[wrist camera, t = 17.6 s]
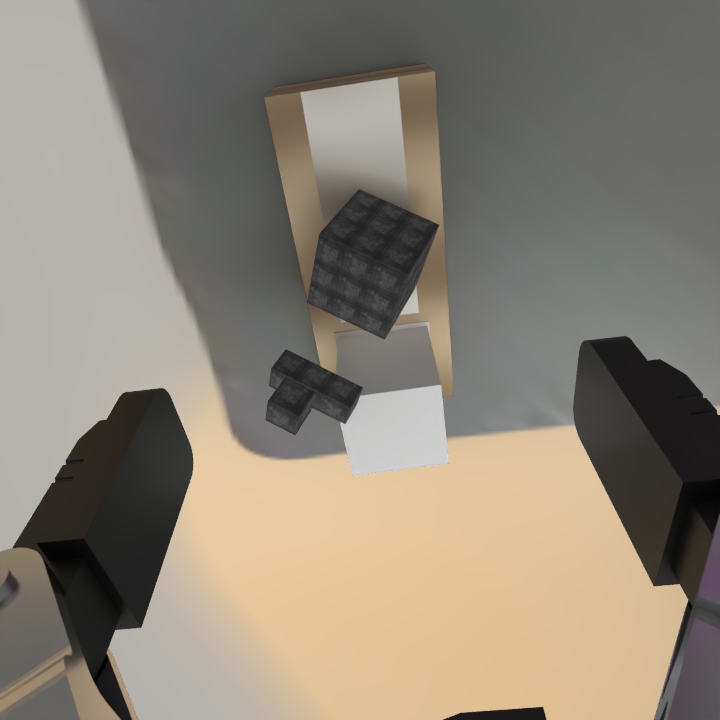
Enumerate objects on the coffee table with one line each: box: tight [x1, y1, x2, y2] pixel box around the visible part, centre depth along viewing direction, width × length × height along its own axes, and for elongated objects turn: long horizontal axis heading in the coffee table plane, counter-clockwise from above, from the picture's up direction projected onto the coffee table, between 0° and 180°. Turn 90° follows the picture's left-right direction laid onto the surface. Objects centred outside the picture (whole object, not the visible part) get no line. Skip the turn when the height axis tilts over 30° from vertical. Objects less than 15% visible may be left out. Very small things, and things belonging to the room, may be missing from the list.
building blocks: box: [266, 189, 439, 435], centre depth 19 cm, size 3×6×8 cm, turn 168°
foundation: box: [264, 64, 453, 397], centre depth 24 cm, size 14×6×3 cm, turn 8°
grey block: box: [336, 326, 449, 475], centre depth 23 cm, size 4×4×4 cm
